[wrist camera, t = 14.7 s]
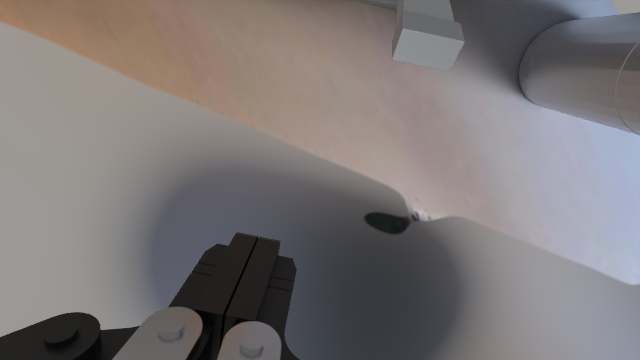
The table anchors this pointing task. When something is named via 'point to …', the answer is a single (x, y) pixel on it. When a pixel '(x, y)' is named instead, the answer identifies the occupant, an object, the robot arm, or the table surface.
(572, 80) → the robot arm
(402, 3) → the paddle
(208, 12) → the table surface
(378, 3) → the pegged base beam
